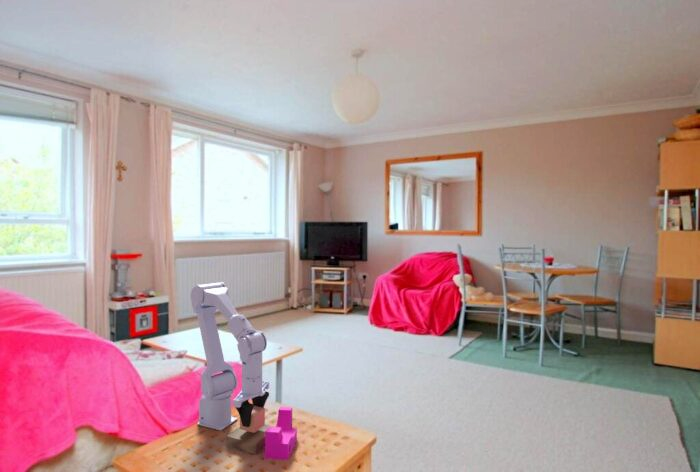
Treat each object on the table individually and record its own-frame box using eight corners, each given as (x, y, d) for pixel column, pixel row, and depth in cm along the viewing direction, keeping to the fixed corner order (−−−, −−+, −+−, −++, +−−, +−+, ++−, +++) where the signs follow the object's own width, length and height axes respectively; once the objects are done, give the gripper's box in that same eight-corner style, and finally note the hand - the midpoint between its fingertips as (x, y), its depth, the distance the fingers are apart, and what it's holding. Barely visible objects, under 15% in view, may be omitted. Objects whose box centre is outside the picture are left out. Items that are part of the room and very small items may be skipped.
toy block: (287, 460, 111) (287, 433, 111) (265, 458, 112) (265, 431, 112) (300, 432, 126) (300, 407, 126) (280, 430, 127) (280, 406, 127)
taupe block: (226, 446, 117) (226, 436, 117) (248, 430, 127) (248, 420, 126) (256, 454, 113) (256, 443, 113) (276, 437, 123) (276, 427, 123)
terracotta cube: (239, 429, 118) (239, 411, 118) (250, 421, 123) (250, 404, 123) (254, 432, 117) (254, 415, 116) (264, 424, 121) (264, 407, 121)
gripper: (248, 386, 111) (248, 436, 112) (277, 369, 124) (277, 413, 125) (226, 382, 114) (226, 431, 114) (258, 365, 127) (258, 409, 128)
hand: (252, 421), depth 120 cm, fingers closed on terracotta cube, 5 cm apart
